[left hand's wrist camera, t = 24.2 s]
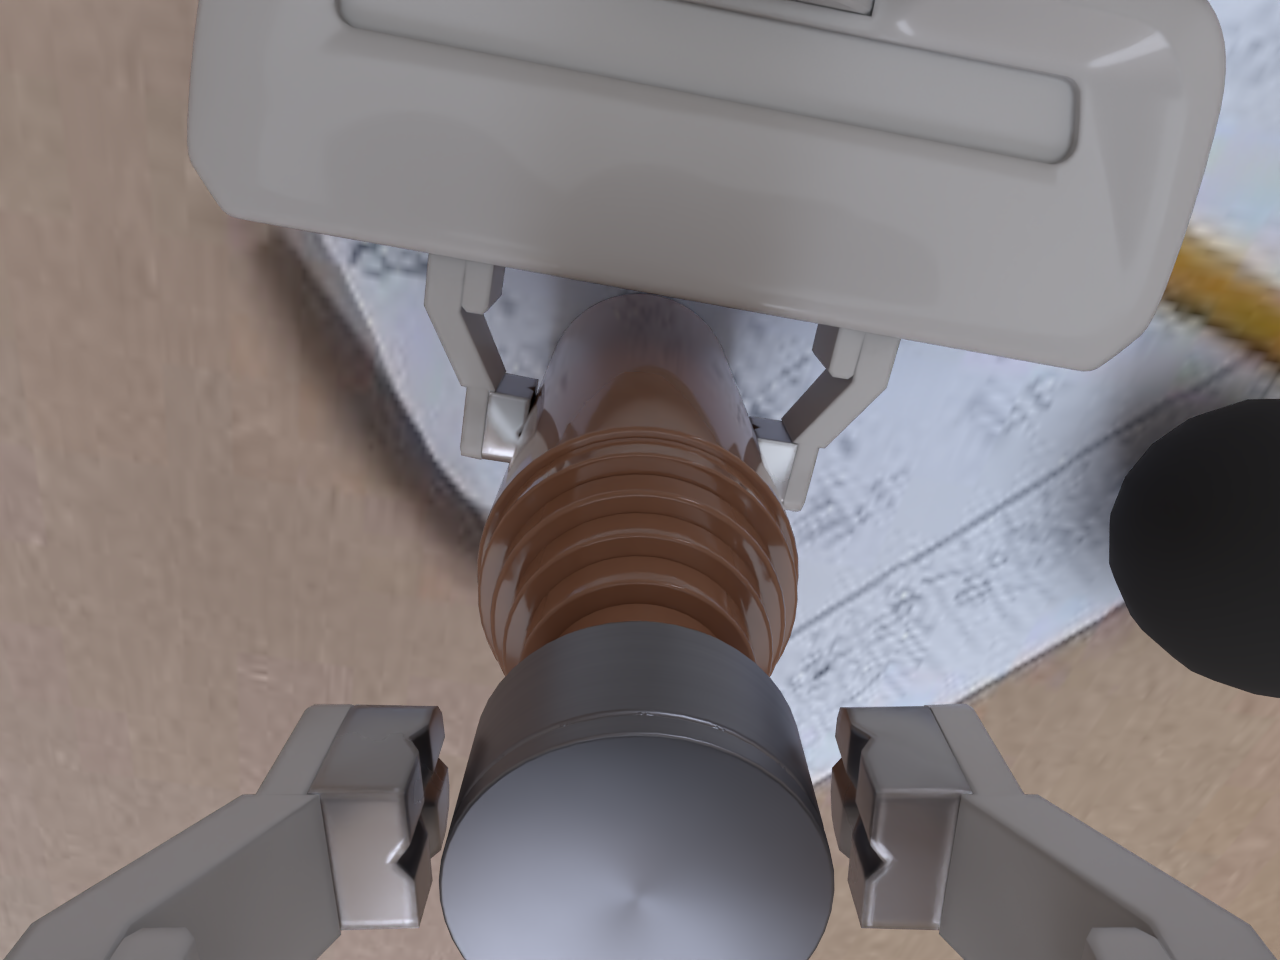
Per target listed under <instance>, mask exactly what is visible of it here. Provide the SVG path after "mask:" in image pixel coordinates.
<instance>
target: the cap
mask: <svg viewBox="0 0 1280 960" xmlns="http://www.w3.org/2000/svg"><path fill="white" fill-rule="evenodd" d="M439 891H440V902H441V906H442V911H443V915H444V919H445V922H446V925H447V927H448V930H449V932H450V935H451V937H452V940H453V941H454V943H455V945H456V946H457V948H458V950H459V951H460V953H461V955H462V956H463V958H464V959H465V960H808V959H809V958H810V957H811V955H812V954H813V952H814V951H815V949H816V948H817V946H818V944H819V942H820V940H821V938H822V936H823V934H824V932H825V929H826V926H827V923H828V920H829V916H830V913H831V910H832V903H833V896H834V869H833V864H832V859H831V854H830V849H829V845H828V842H827V838H826V834H825V831H824V827H823V823H822V819H821V815H820V812H819V808H818V804H817V800H816V796H815V793H814V789H813V785H812V781H811V778H810V774H809V770H808V766H807V763H806V759H805V755H804V751H803V748H802V744H801V740H800V736H799V733H798V729H797V725H796V722H795V720H794V717H793V714H792V712H791V709H790V707H789V705H788V703H787V702H786V700H785V698H784V696H783V695H782V693H781V691H780V690H779V689H778V687H777V686H776V685H775V683H774V682H773V681H772V680H771V678H770V677H769V676H768V675H767V674H766V673H765V672H764V671H763V670H762V669H761V668H760V667H759V666H758V665H757V664H756V663H755V662H753V661H752V660H751V659H749V658H748V657H747V656H745V655H744V654H742V653H741V652H740V651H738V650H737V649H735V648H734V647H732V646H730V645H728V644H726V643H725V642H723V641H721V640H719V639H717V638H715V637H712V636H711V635H707V634H706V633H702V632H700V631H697V630H693V629H690V628H686V627H682V626H678V625H673V624H667V623H660V622H649V621H626V622H614V623H606V624H602V625H597V626H592V627H587V628H584V629H580V630H578V631H574V632H572V633H569V634H566V635H564V636H562V637H560V638H558V639H556V640H553V641H551V642H549V643H547V644H546V645H544V646H543V647H541V648H539V649H538V650H536V651H535V652H533V653H532V654H530V655H528V656H527V657H526V658H525V659H524V660H522V661H521V662H520V663H519V664H518V665H516V666H515V667H514V668H513V669H512V670H511V671H510V672H509V673H508V674H507V675H506V677H505V678H504V679H503V680H502V681H501V682H500V683H499V685H498V686H497V688H496V689H495V691H494V692H493V694H492V695H491V697H490V698H489V700H488V702H487V704H486V706H485V708H484V710H483V712H482V715H481V717H480V720H479V724H478V727H477V731H476V734H475V738H474V742H473V745H472V749H471V753H470V756H469V760H468V763H467V767H466V771H465V774H464V778H463V782H462V785H461V789H460V793H459V796H458V800H457V804H456V807H455V811H454V815H453V818H452V822H451V826H450V829H449V833H448V837H447V840H446V844H445V848H444V851H443V855H442V859H441V865H440V874H439Z"/></svg>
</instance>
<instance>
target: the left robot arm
mask: <svg viewBox="0 0 1280 960" xmlns="http://www.w3.org/2000/svg"><path fill="white" fill-rule="evenodd" d="M444 738H445V733H444V725H443V717H442V712H441V711H440V709H439V707H438V706H400V705H355V706H354V705H351V704H315V705H313V706H311V707H309V708H307V709H306V710H305V711H304V713H303V715H302V716H301V718H300V720H299V721H298V723H297V725H296V726H295V728H294V730H293V732H292V733H291V735H290V737H289V738H288V740H287V742H286V743H285V745H284V747H283V749H282V750H281V752H280V754H279V755H278V757H277V759H276V760H275V762H274V764H273V766H272V767H271V769H270V771H269V772H268V774H267V776H266V777H265V779H264V781H263V782H262V784H261V786H260V788H259V789H258V791H257V793H256V794H253V795H241V796H239V797H238V798H236V799H235V800H233V801H231V802H230V803H228V804H226V805H225V806H223V807H221V808H220V809H218V810H217V811H215V812H213V813H212V814H210V815H208V816H207V817H205V818H203V819H202V820H200V821H199V822H197V823H195V824H194V825H192V826H190V827H189V828H187V829H185V830H184V831H182V832H181V833H179V834H177V835H176V836H174V837H172V838H171V839H169V840H167V841H166V842H164V843H163V844H161V845H159V846H158V847H156V848H154V849H153V850H151V851H149V852H148V853H146V854H145V855H143V856H141V857H140V858H138V859H136V860H135V861H133V862H131V863H130V864H128V865H127V866H125V867H123V868H122V869H120V870H118V871H117V872H115V873H113V874H112V875H110V876H109V877H107V878H105V879H104V880H102V881H100V882H99V883H97V884H95V885H94V886H92V887H91V888H89V889H87V890H86V891H84V892H82V893H81V894H79V895H77V896H76V897H74V898H73V899H71V900H69V901H68V902H66V903H64V904H63V905H61V906H59V907H58V908H56V909H55V910H53V911H51V912H50V913H48V914H46V915H45V916H43V917H41V918H40V919H38V920H37V921H35V922H33V923H32V924H31V925H30V926H29V928H28V929H27V930H26V931H25V933H24V934H23V935H22V937H21V938H20V939H19V940H18V942H17V943H16V944H15V946H14V947H13V948H12V949H11V951H10V952H9V953H8V955H7V956H6V957H5V958H4V960H316V959H317V958H318V957H319V956H320V955H321V954H322V953H323V952H324V951H325V950H326V949H327V948H328V947H329V946H330V945H331V944H332V943H333V942H334V941H335V940H336V939H337V938H338V937H339V936H340V935H341V932H340V930H364V929H398V928H419V926H420V922H421V919H422V915H423V912H424V908H425V905H426V901H427V898H428V894H429V891H430V887H431V884H432V870H431V858H432V857H433V856H434V855H435V854H437V853H438V852H439V851H440V850H441V848H442V844H443V840H444V836H445V832H446V826H447V818H448V810H449V776H448V767H447V766H446V765H445V764H444V763H443V762H442V761H441V760H440V759H439V758H438V757H439V754H440V751H441V747H442V744H443V741H444ZM835 738H836V741H837V744H838V747H839V750H840V754H841V757H842V758H841V759H840V760H839V761H838V762H837V763H836V764H835V765H834V766H833V767H832V779H831V810H832V820H833V826H834V832H835V836H836V840H837V844H838V848H839V850H840V851H841V852H842V853H843V854H845V855H846V856H847V857H848V858H849V859H850V860H849V870H848V884H849V887H850V890H851V894H852V897H853V901H854V904H855V908H856V911H857V915H858V918H859V922H860V925H861V928H880V929H915V930H939V934H940V935H941V936H942V937H943V938H944V940H945V941H946V942H947V943H948V944H949V945H950V946H951V947H952V948H953V949H954V950H955V951H956V952H957V953H958V954H959V955H960V956H961V957H962V958H963V959H964V960H1277V959H1276V958H1275V957H1274V955H1273V954H1272V953H1271V951H1270V950H1269V949H1268V947H1267V946H1266V945H1265V944H1264V942H1263V941H1262V940H1261V938H1260V937H1259V936H1258V934H1257V933H1256V932H1255V931H1254V929H1253V928H1252V927H1251V925H1249V924H1248V923H1246V922H1245V921H1243V920H1241V919H1240V918H1238V917H1236V916H1235V915H1233V914H1231V913H1230V912H1228V911H1227V910H1225V909H1223V908H1222V907H1220V906H1218V905H1217V904H1215V903H1214V902H1212V901H1210V900H1209V899H1207V898H1205V897H1204V896H1202V895H1200V894H1199V893H1197V892H1196V891H1194V890H1192V889H1191V888H1189V887H1187V886H1186V885H1184V884H1183V883H1181V882H1179V881H1178V880H1176V879H1174V878H1173V877H1171V876H1169V875H1168V874H1166V873H1165V872H1163V871H1161V870H1160V869H1158V868H1156V867H1155V866H1153V865H1152V864H1150V863H1148V862H1147V861H1145V860H1143V859H1142V858H1140V857H1138V856H1137V855H1135V854H1134V853H1132V852H1130V851H1129V850H1127V849H1125V848H1124V847H1122V846H1121V845H1119V844H1117V843H1116V842H1114V841H1112V840H1111V839H1109V838H1108V837H1106V836H1104V835H1103V834H1101V833H1099V832H1098V831H1096V830H1094V829H1093V828H1091V827H1090V826H1088V825H1086V824H1085V823H1083V822H1081V821H1080V820H1078V819H1077V818H1075V817H1073V816H1072V815H1070V814H1068V813H1067V812H1065V811H1063V810H1062V809H1060V808H1059V807H1057V806H1055V805H1054V804H1052V803H1050V802H1049V801H1047V800H1046V799H1044V798H1042V797H1041V796H1039V795H1027V794H1024V793H1023V791H1022V789H1021V788H1020V786H1019V784H1018V783H1017V781H1016V779H1015V777H1014V776H1013V774H1012V772H1011V771H1010V769H1009V767H1008V766H1007V764H1006V762H1005V761H1004V759H1003V757H1002V756H1001V754H1000V752H999V751H998V749H997V747H996V746H995V744H994V742H993V741H992V739H991V737H990V736H989V734H988V732H987V731H986V729H985V727H984V725H983V724H982V722H981V720H980V719H979V717H978V715H977V714H976V712H975V710H974V709H973V708H972V707H970V706H969V705H967V704H946V705H925V706H904V707H840V710H839V714H838V717H837V724H836V733H835Z"/></svg>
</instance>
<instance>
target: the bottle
mask: <svg viewBox="0 0 1280 960" xmlns="http://www.w3.org/2000/svg"><path fill="white" fill-rule="evenodd" d="M477 577H478V606H479V612H480V617H481V623H482V627H483V630H484V633H485V636H486V639H487V642H488V644H489V646H490V648H491V650H492V652H493V654H494V656H495V658H496V660H497V661H498V663H499V665H500V667H501V669H502V671H503V673H504V675H505V677H506V675H507V674H508V673H509V672H510V671H511V670H512V669H513V668H514V667H515V666H516V665H518V664H519V663H520V662H521V661H522V660H524V659H525V658H526V657H527V656H528V655H530V654H532V653H533V652H535V651H536V650H538V649H539V648H541V647H543V646H544V645H546V644H547V643H549V642H551V641H553V640H556V639H558V638H560V637H562V636H564V635H566V634H569V633H572V632H574V631H578V630H580V629H584V628H587V627H592V626H597V625H602V624H606V623H614V622H626V621H649V622H660V623H667V624H673V625H678V626H682V627H686V628H690V629H693V630H697V631H700V632H702V633H706V634H707V635H711V636H712V637H715V638H717V639H719V640H721V641H723V642H725V643H726V644H728V645H730V646H732V647H734V648H735V649H737V650H738V651H740V652H741V653H742V654H744V655H745V656H747V657H748V658H749V659H751V660H752V661H753V662H755V663H756V664H757V665H758V666H759V667H760V668H761V669H762V670H763V671H764V672H765V673H766V674H767V675H768V676H769V677H770V676H771V674H772V672H773V670H774V668H775V665H776V664H777V662H778V660H779V659H780V657H781V656H782V654H783V652H784V650H785V647H786V645H787V643H788V640H789V638H790V635H791V632H792V628H793V625H794V621H795V616H796V608H797V585H798V577H799V574H798V554H797V548H796V542H795V537H794V534H793V531H792V528H791V525H790V522H789V519H788V517H787V514H786V512H785V509H784V506H783V504H782V501H781V499H780V496H779V493H778V491H777V488H776V486H775V483H774V481H773V478H772V475H771V473H770V470H769V468H768V465H767V462H766V460H765V457H764V455H763V452H762V450H761V447H760V444H759V442H758V439H757V437H756V434H755V432H754V429H753V426H752V424H751V421H750V419H749V416H748V413H747V411H746V408H745V406H744V403H743V401H742V398H741V395H740V393H739V390H738V388H737V385H736V382H735V380H734V377H733V375H732V372H731V370H730V367H729V364H728V362H727V359H726V357H725V354H724V351H723V349H722V347H721V345H720V343H719V341H718V339H717V337H716V336H715V334H714V333H713V331H712V330H711V328H710V327H709V326H708V325H707V324H706V323H705V322H704V320H703V319H701V318H700V317H699V316H698V315H697V314H696V313H694V312H693V311H692V310H690V309H688V308H687V307H685V306H684V305H682V304H680V303H678V302H676V301H673V300H671V299H668V298H664V297H661V296H656V295H650V294H627V295H621V296H617V297H612V298H610V299H607V300H604V301H601V302H599V303H597V304H596V305H594V306H592V307H590V308H589V309H587V310H586V311H584V312H583V313H581V314H580V315H579V316H578V317H577V318H576V319H575V320H574V321H573V322H572V323H571V324H570V325H569V326H568V328H567V329H566V330H565V331H564V333H563V334H562V336H561V338H560V339H559V341H558V343H557V345H556V347H555V350H554V352H553V355H552V357H551V360H550V362H549V365H548V367H547V370H546V372H545V375H544V377H543V380H542V382H541V385H540V387H539V390H538V392H537V395H536V397H535V400H534V402H533V405H532V408H531V410H530V413H529V415H528V418H527V420H526V423H525V425H524V428H523V430H522V433H521V435H520V438H519V440H518V443H517V445H516V448H515V450H514V453H513V456H512V458H511V461H510V463H509V466H508V468H507V471H506V473H505V476H504V478H503V481H502V483H501V486H500V488H499V491H498V493H497V496H496V498H495V501H494V503H493V506H492V509H491V511H490V514H489V516H488V519H487V521H486V524H485V527H484V530H483V534H482V537H481V541H480V545H479V553H478V561H477Z"/></svg>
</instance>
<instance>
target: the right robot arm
mask: <svg viewBox="0 0 1280 960" xmlns="http://www.w3.org/2000/svg"><path fill="white" fill-rule="evenodd" d="M1225 74H1226V53H1225V42H1224V38H1223V33H1222V29H1221V26H1220V23H1219V20H1218V18H1217V15H1216V13H1215V12H1214V10H1213V8H1212V7H1211V5H1210V3H1209V2H1208V1H1207V0H199V2H198V10H197V17H196V25H195V33H194V41H193V51H192V62H191V74H190V86H189V102H188V118H187V147H188V155H189V158H190V161H191V163H192V165H193V167H194V169H195V170H196V172H197V173H198V175H199V176H200V178H201V180H202V181H203V183H204V184H205V186H206V187H207V189H208V190H209V192H210V193H211V195H212V196H213V198H214V199H215V201H216V202H217V203H218V205H219V206H220V207H221V209H222V210H223V211H224V212H225V213H226V214H228V215H230V216H232V217H235V218H238V219H243V220H249V221H254V222H259V223H265V224H270V225H276V226H281V227H287V228H292V229H298V230H303V231H309V232H315V233H320V234H326V235H331V236H337V237H342V238H348V239H353V240H359V241H364V242H370V243H375V244H381V245H386V246H392V247H397V248H403V249H408V250H414V251H419V252H425V253H429V256H428V266H427V277H426V288H425V299H424V306H425V309H426V311H427V313H428V315H429V317H430V319H431V322H432V324H433V326H434V328H435V330H436V332H437V334H438V337H439V339H440V341H441V343H442V345H443V347H444V350H445V352H446V354H447V356H448V358H449V360H450V363H451V365H452V367H453V369H454V371H455V373H456V375H457V378H458V380H459V382H460V384H461V386H464V387H467V391H466V400H465V409H464V417H463V426H462V435H461V444H460V450H461V455H462V456H467V457H471V458H476V459H487V460H494V461H501V462H507V463H510V461H511V458H512V456H513V453H514V450H515V448H516V445H517V443H518V440H519V438H520V435H521V433H522V430H523V428H524V425H525V423H526V420H527V418H528V415H529V413H530V410H531V408H532V405H533V402H534V400H535V397H536V394H537V387H538V379H533V378H528V377H523V376H518V375H513V374H508V373H506V370H505V367H504V365H503V362H502V360H501V357H500V355H499V352H498V350H497V347H496V345H495V342H494V340H493V337H492V335H491V332H490V330H489V327H488V325H487V322H486V320H485V317H484V315H483V314H484V313H485V312H486V311H487V310H488V309H489V308H490V307H491V306H492V305H493V304H494V303H495V302H496V300H497V299H498V298H499V297H500V296H501V295H502V288H503V281H504V273H505V267H508V268H513V269H519V270H524V271H530V272H536V273H541V274H547V275H552V276H558V277H563V278H569V279H574V280H580V281H585V282H591V283H596V284H602V285H607V286H613V287H618V288H624V289H629V290H635V291H641V292H646V293H652V294H657V295H663V296H668V297H674V298H679V299H685V300H690V301H696V302H701V303H707V304H712V305H718V306H723V307H729V308H734V309H740V310H746V311H751V312H757V313H762V314H768V315H773V316H779V317H784V318H790V319H795V320H801V321H806V322H812V323H817V324H818V326H817V331H816V335H815V339H814V343H813V348H812V351H813V353H814V355H815V356H816V357H817V358H818V360H819V361H820V362H821V363H822V364H823V366H824V367H825V368H826V370H825V371H824V372H823V373H822V374H821V375H820V376H819V377H818V378H817V380H816V381H815V382H814V383H813V384H812V385H811V386H810V387H809V388H808V390H807V391H806V392H805V393H804V394H803V395H802V396H801V397H800V398H799V400H798V401H797V402H796V403H795V404H794V405H793V406H792V407H791V408H790V410H789V411H788V412H787V413H786V414H785V415H784V416H783V417H782V418H781V420H782V421H779V420H772V419H766V418H759V417H752V416H749V419H750V421H751V424H752V426H753V429H754V432H755V434H756V437H757V439H758V442H759V444H760V447H761V450H762V452H763V455H764V457H765V460H766V462H767V465H768V468H769V470H770V473H771V475H772V478H773V481H774V483H775V486H776V488H777V491H778V493H779V496H780V499H781V501H782V504H783V506H784V509H785V510H789V511H795V512H799V511H800V510H801V509H802V507H803V505H804V503H805V499H806V496H807V492H808V488H809V484H810V481H811V477H812V473H813V469H814V466H815V462H816V458H817V454H818V451H819V448H826V447H827V446H828V445H829V444H830V443H831V442H832V441H833V440H834V439H835V438H836V437H837V436H838V435H839V434H840V433H841V432H842V431H843V430H844V429H845V428H846V427H847V426H848V425H849V424H850V423H851V422H852V421H853V420H854V419H855V418H856V417H857V416H858V415H859V414H860V413H861V412H862V411H863V410H864V409H865V408H866V407H867V406H868V405H869V404H870V403H872V402H873V401H874V400H875V399H876V398H877V397H878V396H879V395H880V394H881V393H882V392H883V391H884V390H885V389H886V388H887V384H888V381H889V377H890V374H891V371H892V367H893V364H894V360H895V357H896V354H897V350H898V347H899V343H900V340H901V339H906V340H911V341H917V342H922V343H928V344H933V345H939V346H944V347H950V348H955V349H961V350H967V351H972V352H978V353H983V354H989V355H994V356H1000V357H1005V358H1011V359H1016V360H1022V361H1027V362H1033V363H1038V364H1044V365H1049V366H1055V367H1061V368H1066V369H1072V370H1078V371H1092V370H1095V369H1097V368H1099V367H1100V366H1102V365H1103V364H1105V363H1106V362H1108V361H1109V360H1110V359H1112V358H1113V357H1114V356H1116V355H1117V354H1118V353H1120V352H1121V351H1122V350H1124V349H1125V348H1126V347H1127V346H1129V345H1130V344H1131V343H1132V342H1134V341H1135V340H1136V339H1137V338H1138V337H1140V336H1141V335H1142V334H1143V332H1144V331H1145V330H1146V329H1147V327H1148V325H1149V324H1150V322H1151V320H1152V318H1153V316H1154V315H1155V312H1156V310H1157V308H1158V305H1159V303H1160V301H1161V298H1162V296H1163V294H1164V291H1165V289H1166V286H1167V283H1168V281H1169V278H1170V275H1171V273H1172V270H1173V267H1174V264H1175V261H1176V259H1177V256H1178V253H1179V250H1180V247H1181V245H1182V242H1183V239H1184V236H1185V233H1186V230H1187V227H1188V224H1189V221H1190V218H1191V215H1192V212H1193V208H1194V205H1195V202H1196V198H1197V195H1198V192H1199V188H1200V185H1201V182H1202V178H1203V175H1204V172H1205V168H1206V164H1207V161H1208V157H1209V153H1210V149H1211V146H1212V142H1213V138H1214V134H1215V130H1216V126H1217V122H1218V118H1219V114H1220V110H1221V104H1222V99H1223V93H1224V85H1225Z"/></svg>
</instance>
